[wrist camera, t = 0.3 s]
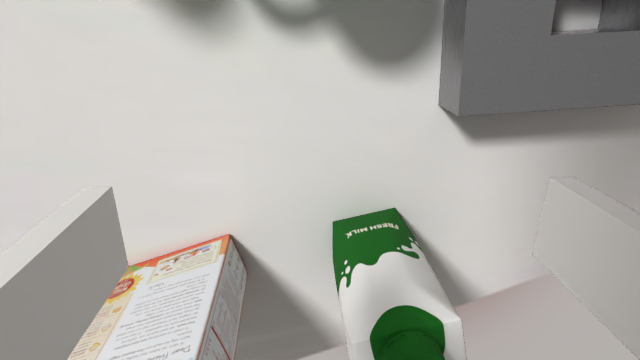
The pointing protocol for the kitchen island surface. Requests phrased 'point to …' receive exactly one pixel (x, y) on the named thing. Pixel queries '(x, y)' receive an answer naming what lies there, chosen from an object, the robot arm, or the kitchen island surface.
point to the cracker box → (172, 308)
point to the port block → (536, 58)
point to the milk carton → (391, 293)
